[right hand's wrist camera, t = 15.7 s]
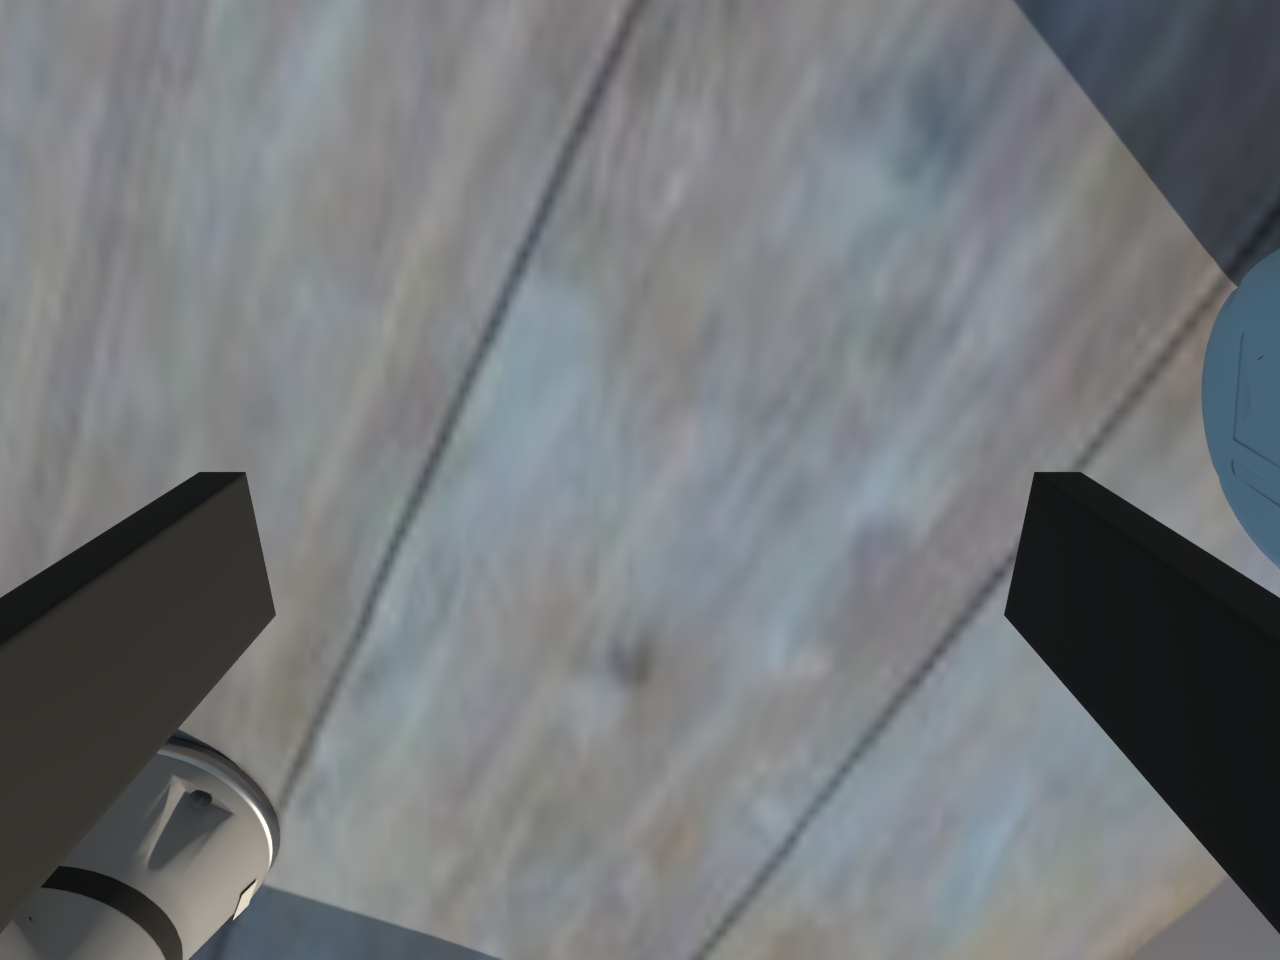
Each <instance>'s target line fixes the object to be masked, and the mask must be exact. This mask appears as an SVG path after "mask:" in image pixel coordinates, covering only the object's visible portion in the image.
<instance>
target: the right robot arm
mask: <svg viewBox="0 0 1280 960" xmlns="http://www.w3.org/2000/svg"><path fill="white" fill-rule="evenodd" d="M275 616H276V614H275V609H274V604H273V599H272V595H271V590H270V585H269V581H268V576H267V571H266V566H265V562H264V557H263V552H262V548H261V543H260V538H259V533H258V529H257V524H256V519H255V515H254V510H253V505H252V500H251V496H250V491H249V486H248V482H247V477H246V472H199V473H197V474H196V475H194V476H193V477H191V478H189V479H188V480H186V481H185V482H183V483H181V484H180V485H178V486H177V487H175V488H174V489H172V490H170V491H169V492H167V493H166V494H164V495H162V496H161V497H159V498H158V499H156V500H155V501H153V502H151V503H150V504H148V505H147V506H145V507H143V508H142V509H140V510H139V511H137V512H136V513H134V514H132V515H131V516H129V517H128V518H126V519H124V520H123V521H121V522H120V523H118V524H117V525H115V526H113V527H112V528H110V529H109V530H107V531H105V532H104V533H102V534H101V535H99V536H98V537H96V538H94V539H93V540H91V541H90V542H88V543H86V544H85V545H83V546H82V547H80V548H79V549H77V550H75V551H74V552H72V553H71V554H69V555H68V556H66V557H64V558H63V559H61V560H60V561H58V562H56V563H55V564H53V565H52V566H50V567H49V568H47V569H45V570H44V571H42V572H41V573H39V574H37V575H36V576H34V577H33V578H31V579H30V580H28V581H26V582H25V583H23V584H22V585H20V586H18V587H17V588H15V589H14V590H12V591H11V592H9V593H7V594H6V595H4V596H3V597H1V598H0V960H188V959H189V958H190V957H191V956H192V955H193V954H194V953H195V952H196V951H197V950H198V949H199V948H200V947H201V946H202V945H203V944H204V943H205V942H206V941H207V940H208V939H209V938H210V937H211V936H212V935H213V934H214V933H215V932H216V931H217V930H218V929H219V928H220V927H221V926H222V925H223V924H224V923H225V922H226V921H227V920H228V919H229V917H230V916H232V915H233V914H235V916H234V919H235V918H236V917H237V916H238V915H239V914H240V913H241V912H242V911H243V910H244V909H245V908H246V907H247V906H248V905H249V902H250V899H251V898H252V896H253V895H254V894H255V893H256V892H257V890H258V889H259V888H260V886H261V885H262V883H263V881H264V880H265V878H266V876H267V874H268V872H269V871H270V869H271V867H272V865H273V863H274V861H275V859H276V856H277V854H278V850H279V844H280V830H279V824H278V820H277V817H276V814H275V812H274V809H273V807H272V805H271V803H270V801H269V800H268V798H267V797H266V795H265V794H264V792H263V791H262V790H261V788H260V787H259V786H258V785H257V784H256V783H255V782H254V781H253V780H252V779H251V778H250V777H249V776H248V775H247V774H246V773H245V772H244V771H243V770H241V769H240V768H239V767H237V766H236V765H235V764H233V763H232V762H230V761H229V760H227V759H226V758H224V757H222V756H221V755H219V754H217V753H215V752H213V751H211V750H209V749H206V748H204V747H202V746H199V745H196V744H193V743H190V742H188V741H184V740H180V739H176V738H171V736H172V735H173V734H174V732H175V731H176V730H177V729H178V728H179V727H180V725H181V724H182V723H183V722H184V721H185V720H186V718H187V717H188V716H189V715H190V714H191V713H192V712H193V710H194V709H195V708H196V707H197V706H198V705H199V703H200V702H201V701H202V700H203V699H204V698H205V696H206V695H207V694H208V693H209V692H210V691H211V690H212V688H213V687H214V686H215V685H216V684H217V683H218V681H219V680H220V679H221V678H222V677H223V676H224V675H225V673H226V672H227V671H228V670H229V669H230V668H231V666H232V665H233V664H234V663H235V662H236V661H237V659H238V658H239V657H240V656H241V655H242V654H243V653H244V651H245V650H246V649H247V648H248V647H249V646H250V644H251V643H252V642H253V641H254V640H255V639H256V637H257V636H258V635H259V634H260V633H261V632H262V631H263V629H264V628H265V627H266V626H267V625H268V624H269V622H270V621H271V620H272V619H273V618H274V617H275ZM1004 616H1005V617H1006V618H1007V619H1008V620H1009V621H1010V622H1011V624H1012V625H1013V626H1014V627H1015V628H1016V629H1017V631H1018V632H1019V633H1020V634H1021V635H1022V636H1023V637H1024V639H1025V640H1026V641H1027V642H1028V643H1029V644H1030V646H1031V647H1032V648H1033V649H1034V650H1035V651H1036V653H1037V654H1038V655H1039V656H1040V657H1041V658H1042V659H1043V661H1044V662H1045V663H1046V664H1047V665H1048V666H1049V668H1050V669H1051V670H1052V671H1053V672H1054V673H1055V675H1056V676H1057V677H1058V678H1059V679H1060V680H1061V681H1062V683H1063V684H1064V685H1065V686H1066V687H1067V688H1068V690H1069V691H1070V692H1071V693H1072V694H1073V695H1074V696H1075V698H1076V699H1077V700H1078V701H1079V702H1080V703H1081V705H1082V706H1083V707H1084V708H1085V709H1086V710H1087V712H1088V713H1089V714H1090V715H1091V716H1092V717H1093V718H1094V720H1095V721H1096V722H1097V723H1098V724H1099V725H1100V727H1101V728H1102V729H1103V730H1104V731H1105V732H1106V734H1107V735H1108V736H1109V737H1110V738H1111V739H1112V740H1113V742H1114V743H1115V744H1116V745H1117V746H1118V747H1119V749H1120V750H1121V751H1122V752H1123V753H1124V754H1125V755H1126V757H1127V758H1128V759H1129V760H1130V761H1131V762H1132V764H1133V765H1134V766H1135V767H1136V768H1137V769H1138V771H1139V772H1140V773H1141V774H1142V775H1143V776H1144V777H1145V779H1146V780H1147V781H1148V782H1149V783H1150V784H1151V786H1152V787H1153V788H1154V789H1155V790H1156V791H1157V793H1158V794H1159V795H1160V796H1161V797H1162V798H1163V799H1164V801H1165V802H1166V803H1167V804H1168V805H1169V806H1170V808H1171V809H1172V810H1173V811H1174V812H1175V813H1176V814H1177V816H1178V817H1179V818H1180V819H1181V820H1182V821H1183V823H1184V824H1185V825H1186V826H1187V827H1188V828H1189V830H1190V831H1191V832H1192V833H1193V834H1194V835H1195V836H1196V838H1197V839H1198V840H1199V841H1200V842H1201V843H1202V845H1203V846H1204V847H1205V848H1206V849H1207V850H1208V852H1209V853H1210V854H1211V855H1212V856H1213V857H1214V858H1215V860H1216V861H1217V862H1218V863H1219V864H1220V865H1221V867H1222V868H1223V869H1224V870H1225V871H1226V872H1227V874H1228V875H1229V876H1230V877H1231V878H1232V879H1233V880H1234V882H1235V883H1236V884H1237V885H1238V886H1239V887H1240V889H1241V890H1242V891H1243V892H1244V893H1245V894H1246V895H1247V897H1248V898H1249V899H1250V900H1251V901H1252V902H1253V904H1254V905H1255V906H1256V907H1257V908H1258V909H1259V910H1260V912H1261V913H1262V914H1263V915H1264V916H1265V917H1266V919H1267V920H1268V921H1269V922H1270V923H1271V924H1272V926H1273V927H1274V928H1275V929H1276V930H1277V931H1278V933H1279V934H1280V598H1279V597H1277V596H1276V595H1274V594H1273V593H1271V592H1269V591H1268V590H1266V589H1265V588H1263V587H1262V586H1260V585H1258V584H1257V583H1255V582H1254V581H1252V580H1250V579H1249V578H1247V577H1246V576H1244V575H1243V574H1241V573H1239V572H1238V571H1236V570H1235V569H1233V568H1231V567H1230V566H1228V565H1227V564H1225V563H1224V562H1222V561H1220V560H1219V559H1217V558H1216V557H1214V556H1212V555H1211V554H1209V553H1208V552H1206V551H1205V550H1203V549H1201V548H1200V547H1198V546H1197V545H1195V544H1194V543H1192V542H1190V541H1189V540H1187V539H1186V538H1184V537H1182V536H1181V535H1179V534H1178V533H1176V532H1175V531H1173V530H1171V529H1170V528H1168V527H1167V526H1165V525H1163V524H1162V523H1160V522H1159V521H1157V520H1156V519H1154V518H1152V517H1151V516H1149V515H1148V514H1146V513H1144V512H1143V511H1141V510H1140V509H1138V508H1137V507H1135V506H1133V505H1132V504H1130V503H1129V502H1127V501H1125V500H1124V499H1122V498H1121V497H1119V496H1118V495H1116V494H1114V493H1113V492H1111V491H1110V490H1108V489H1106V488H1105V487H1103V486H1102V485H1100V484H1099V483H1097V482H1095V481H1094V480H1092V479H1091V478H1089V477H1087V476H1086V475H1084V474H1083V473H1081V472H1034V477H1033V482H1032V486H1031V491H1030V496H1029V500H1028V505H1027V510H1026V515H1025V519H1024V524H1023V529H1022V533H1021V538H1020V543H1019V548H1018V552H1017V557H1016V562H1015V566H1014V571H1013V576H1012V581H1011V585H1010V590H1009V595H1008V599H1007V604H1006V609H1005V614H1004ZM234 919H233V920H234Z"/></svg>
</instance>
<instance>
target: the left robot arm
mask: <svg viewBox="0 0 1280 960" xmlns="http://www.w3.org/2000/svg"><path fill="white" fill-rule="evenodd" d="M1202 411H1203V421H1204V428H1205V434H1206V439H1207V445H1208V448H1209V452H1210V456H1211V459H1212V463H1213V466H1214V468H1215V470H1216V472H1217V474H1218V476H1219V480H1220V484H1221V487H1222V490H1223V492H1224V494H1225V497H1226V499H1227V501H1228V503H1229V505H1230V507H1231V508H1232V510H1233V512H1234V514H1235V515H1236V517H1237V519H1238V520H1239V522H1240V523H1241V525H1242V526H1243V528H1244V529H1245V531H1246V532H1247V534H1248V535H1249V536H1250V538H1251V539H1252V540H1253V542H1254V543H1255V544H1256V545H1257V547H1258V548H1259V549H1260V550H1261V551H1262V552H1263V553H1264V554H1265V555H1266V556H1267V557H1268V558H1269V559H1270V560H1271V561H1272V562H1273V563H1274V564H1275V565H1276V566H1277V567H1278V568H1279V569H1280V248H1279V249H1278V250H1276V251H1274V252H1272V253H1271V254H1269V255H1268V256H1266V257H1265V258H1264V259H1262V260H1261V261H1259V262H1258V263H1257V264H1256V265H1255V266H1254V267H1253V268H1252V269H1251V270H1250V271H1249V272H1248V273H1247V274H1246V275H1245V276H1244V278H1243V279H1242V281H1241V284H1240V286H1239V287H1238V288H1237V289H1236V290H1234V291H1233V292H1232V293H1231V295H1230V296H1229V297H1228V299H1227V300H1226V301H1225V303H1224V304H1223V306H1222V308H1221V310H1220V312H1219V314H1218V316H1217V318H1216V320H1215V323H1214V326H1213V329H1212V332H1211V335H1210V338H1209V341H1208V344H1207V349H1206V353H1205V359H1204V366H1203V375H1202Z"/></svg>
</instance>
